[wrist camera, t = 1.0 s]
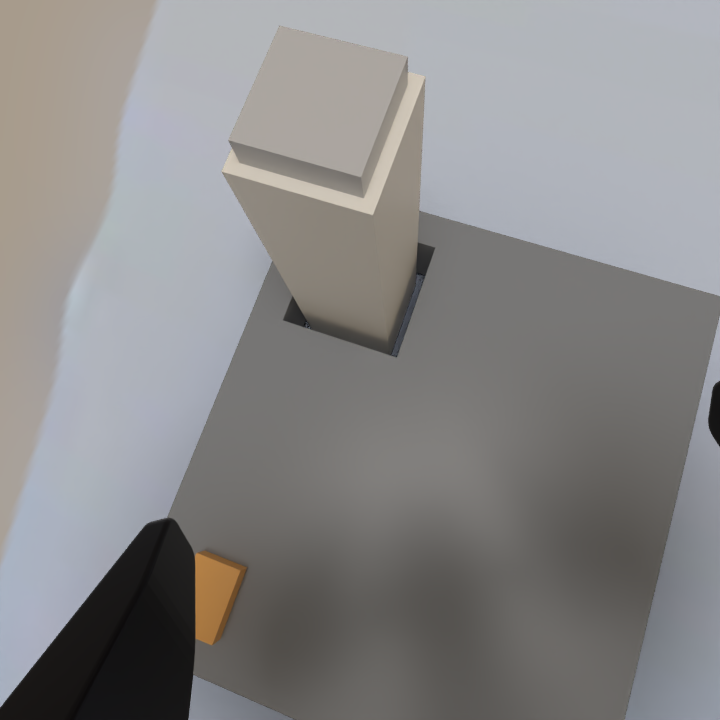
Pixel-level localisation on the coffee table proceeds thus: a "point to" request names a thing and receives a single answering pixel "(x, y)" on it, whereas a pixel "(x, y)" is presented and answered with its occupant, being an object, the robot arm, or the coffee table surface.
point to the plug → (335, 180)
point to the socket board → (447, 491)
